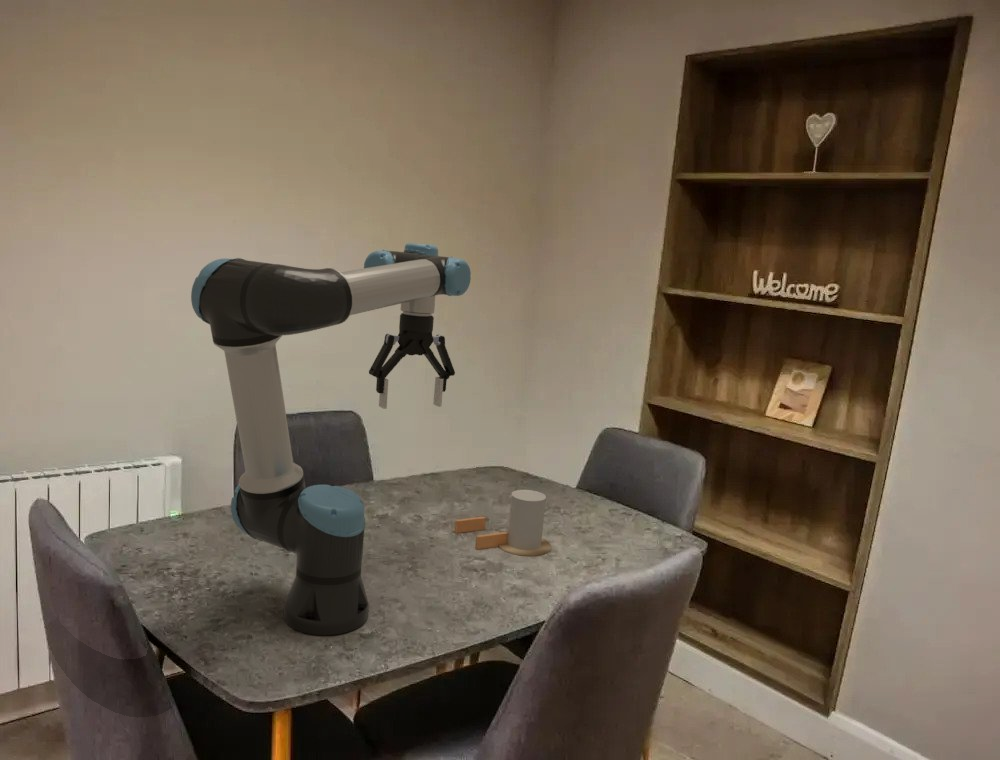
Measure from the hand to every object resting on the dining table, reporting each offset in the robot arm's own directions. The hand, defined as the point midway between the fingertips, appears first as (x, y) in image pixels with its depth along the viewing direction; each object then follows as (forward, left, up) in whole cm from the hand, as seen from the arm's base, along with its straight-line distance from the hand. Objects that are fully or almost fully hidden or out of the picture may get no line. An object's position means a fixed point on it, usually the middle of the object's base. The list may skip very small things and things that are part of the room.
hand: (410, 406), depth 178 cm
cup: (-13, -26, -31) cm, 43 cm away
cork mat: (-13, -26, -32) cm, 43 cm away
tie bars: (-6, -18, -32) cm, 37 cm away
